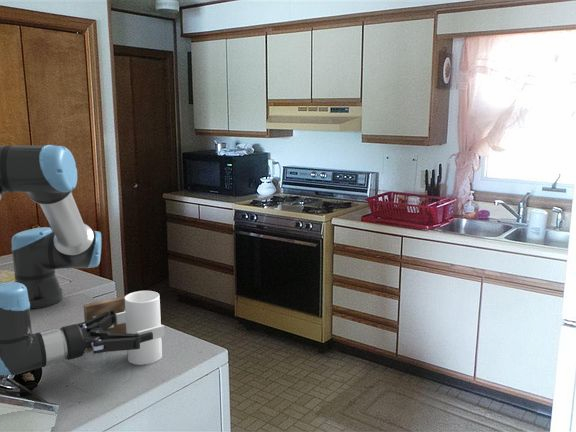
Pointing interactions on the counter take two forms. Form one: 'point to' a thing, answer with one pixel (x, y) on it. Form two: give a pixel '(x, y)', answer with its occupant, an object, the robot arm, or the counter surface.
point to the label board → (106, 306)
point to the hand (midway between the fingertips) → (152, 321)
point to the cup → (143, 325)
